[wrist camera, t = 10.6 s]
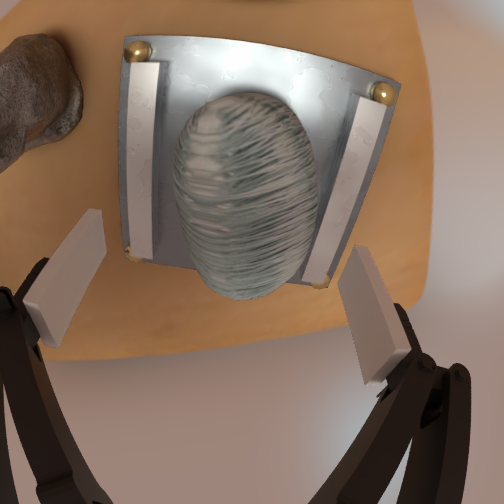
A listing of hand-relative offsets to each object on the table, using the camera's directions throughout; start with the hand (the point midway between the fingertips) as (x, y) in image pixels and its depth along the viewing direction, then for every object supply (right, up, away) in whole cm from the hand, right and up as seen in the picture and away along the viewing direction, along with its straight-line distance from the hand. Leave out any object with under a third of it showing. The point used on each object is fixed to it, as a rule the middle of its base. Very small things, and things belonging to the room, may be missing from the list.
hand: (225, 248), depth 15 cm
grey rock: (+1, +6, +7) cm, 9 cm away
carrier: (+1, +6, +8) cm, 10 cm away
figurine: (-18, +13, +4) cm, 23 cm away
